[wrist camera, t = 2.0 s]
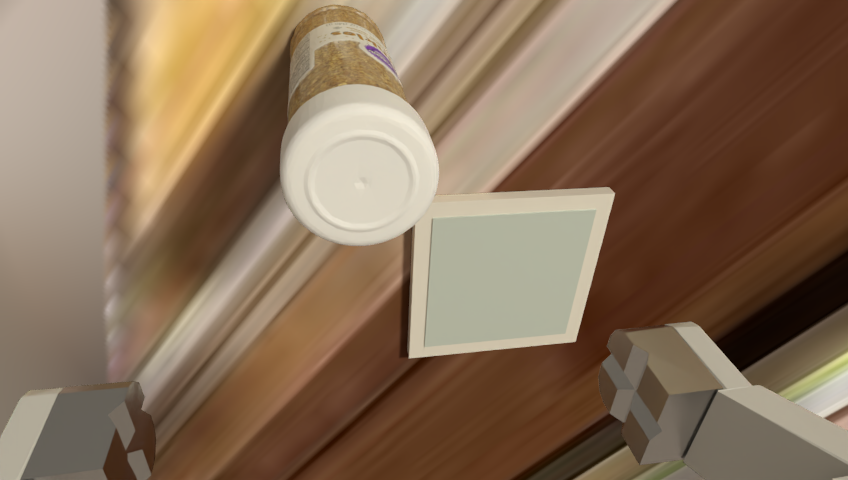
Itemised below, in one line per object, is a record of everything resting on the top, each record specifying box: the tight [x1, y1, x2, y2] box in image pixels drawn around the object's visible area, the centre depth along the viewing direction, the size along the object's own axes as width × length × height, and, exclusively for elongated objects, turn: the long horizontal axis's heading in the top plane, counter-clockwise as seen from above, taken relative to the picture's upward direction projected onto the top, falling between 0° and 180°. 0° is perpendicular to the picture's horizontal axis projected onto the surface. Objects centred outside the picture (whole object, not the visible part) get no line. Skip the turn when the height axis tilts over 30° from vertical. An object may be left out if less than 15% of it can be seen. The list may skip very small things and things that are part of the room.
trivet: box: [407, 187, 615, 358], centre depth 36 cm, size 12×12×1 cm
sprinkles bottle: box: [280, 5, 439, 246], centre depth 21 cm, size 5×5×14 cm
